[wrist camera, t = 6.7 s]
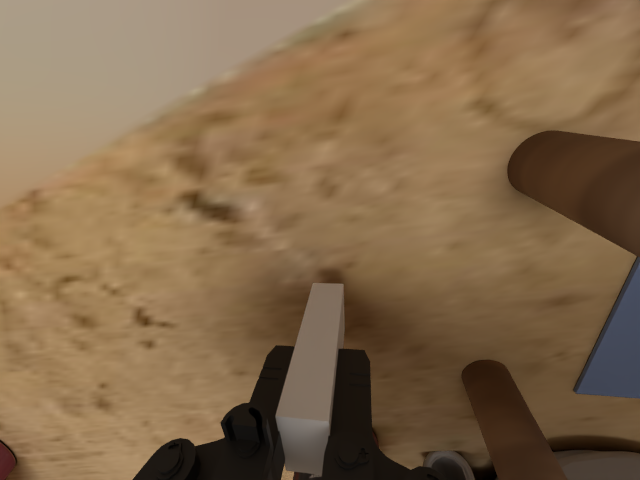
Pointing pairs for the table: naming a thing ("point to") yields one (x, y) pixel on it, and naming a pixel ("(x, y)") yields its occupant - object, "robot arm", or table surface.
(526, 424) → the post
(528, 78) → the table surface
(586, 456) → the turbocharger housing
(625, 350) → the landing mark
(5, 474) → the plant pot
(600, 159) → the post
